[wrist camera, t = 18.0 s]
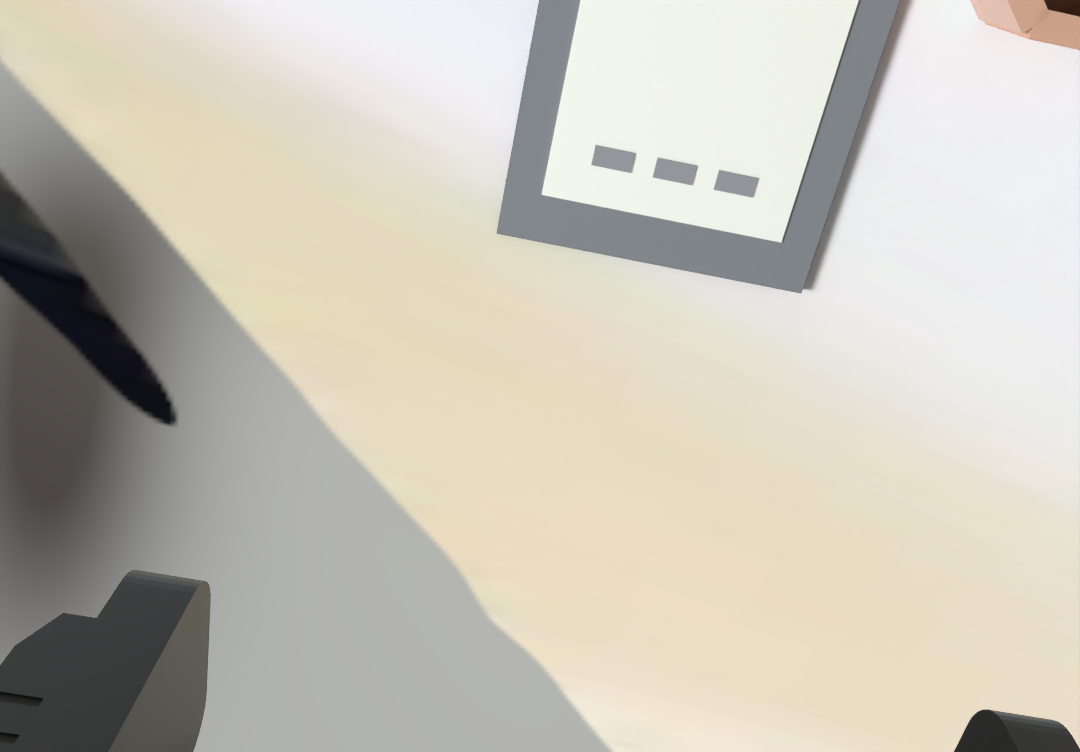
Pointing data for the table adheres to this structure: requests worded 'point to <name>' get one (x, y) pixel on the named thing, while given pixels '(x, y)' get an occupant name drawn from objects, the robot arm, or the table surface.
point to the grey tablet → (691, 129)
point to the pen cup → (1034, 19)
